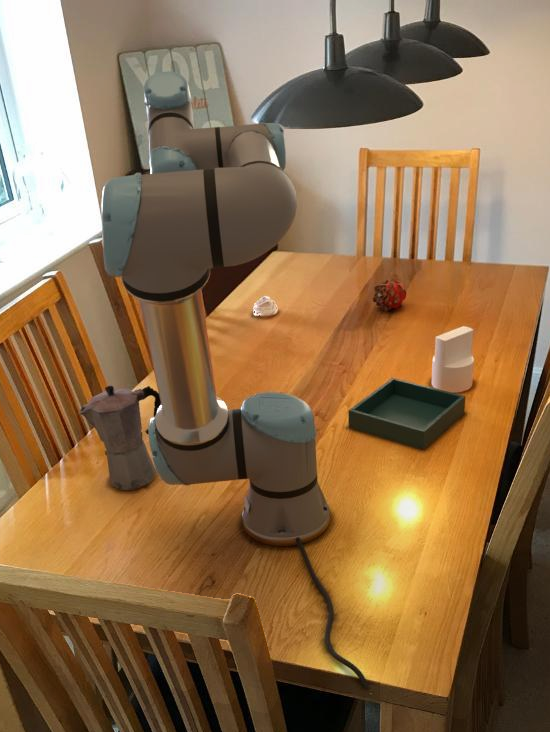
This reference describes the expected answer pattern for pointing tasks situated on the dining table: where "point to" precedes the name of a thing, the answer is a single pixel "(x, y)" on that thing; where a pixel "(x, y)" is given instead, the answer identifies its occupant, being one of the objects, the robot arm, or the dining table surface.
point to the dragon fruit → (389, 294)
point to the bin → (407, 413)
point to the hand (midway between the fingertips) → (191, 242)
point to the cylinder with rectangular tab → (453, 361)
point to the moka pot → (122, 434)
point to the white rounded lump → (265, 307)
